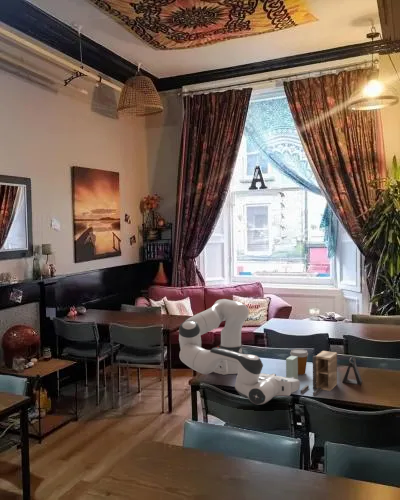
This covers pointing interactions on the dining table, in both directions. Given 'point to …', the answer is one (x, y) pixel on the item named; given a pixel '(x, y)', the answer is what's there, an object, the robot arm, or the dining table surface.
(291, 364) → the pale green block
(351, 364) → the dark grey triangular stand
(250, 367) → the robot arm
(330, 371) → the cabinet
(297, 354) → the disposable coffee cup
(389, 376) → the dining table surface
